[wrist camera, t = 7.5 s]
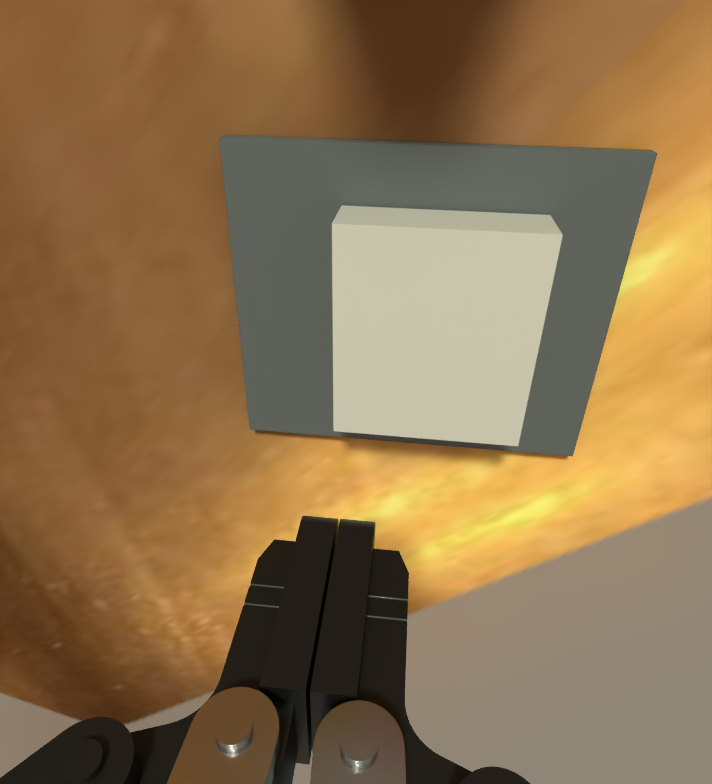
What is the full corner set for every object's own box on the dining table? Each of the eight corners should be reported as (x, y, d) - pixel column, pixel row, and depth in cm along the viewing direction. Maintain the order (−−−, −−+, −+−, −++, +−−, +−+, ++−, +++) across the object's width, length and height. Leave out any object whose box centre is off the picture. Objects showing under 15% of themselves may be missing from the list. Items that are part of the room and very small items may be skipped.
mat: (253, 421, 26) (249, 429, 25) (224, 135, 19) (218, 137, 19) (569, 447, 25) (572, 456, 24) (651, 150, 18) (657, 153, 18)
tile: (333, 431, 22) (518, 446, 21) (331, 223, 18) (562, 234, 17) (341, 398, 24) (511, 412, 23) (342, 204, 20) (549, 214, 19)
